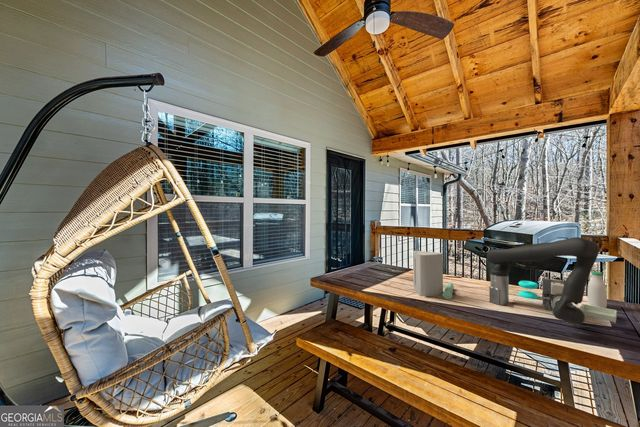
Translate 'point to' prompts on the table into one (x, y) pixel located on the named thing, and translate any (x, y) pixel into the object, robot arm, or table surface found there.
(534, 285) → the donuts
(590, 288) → the milk bottle
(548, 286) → the printer bay
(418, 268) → the tall grey box
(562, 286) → the grey tall block
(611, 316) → the waste tray
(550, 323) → the table surface
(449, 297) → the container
